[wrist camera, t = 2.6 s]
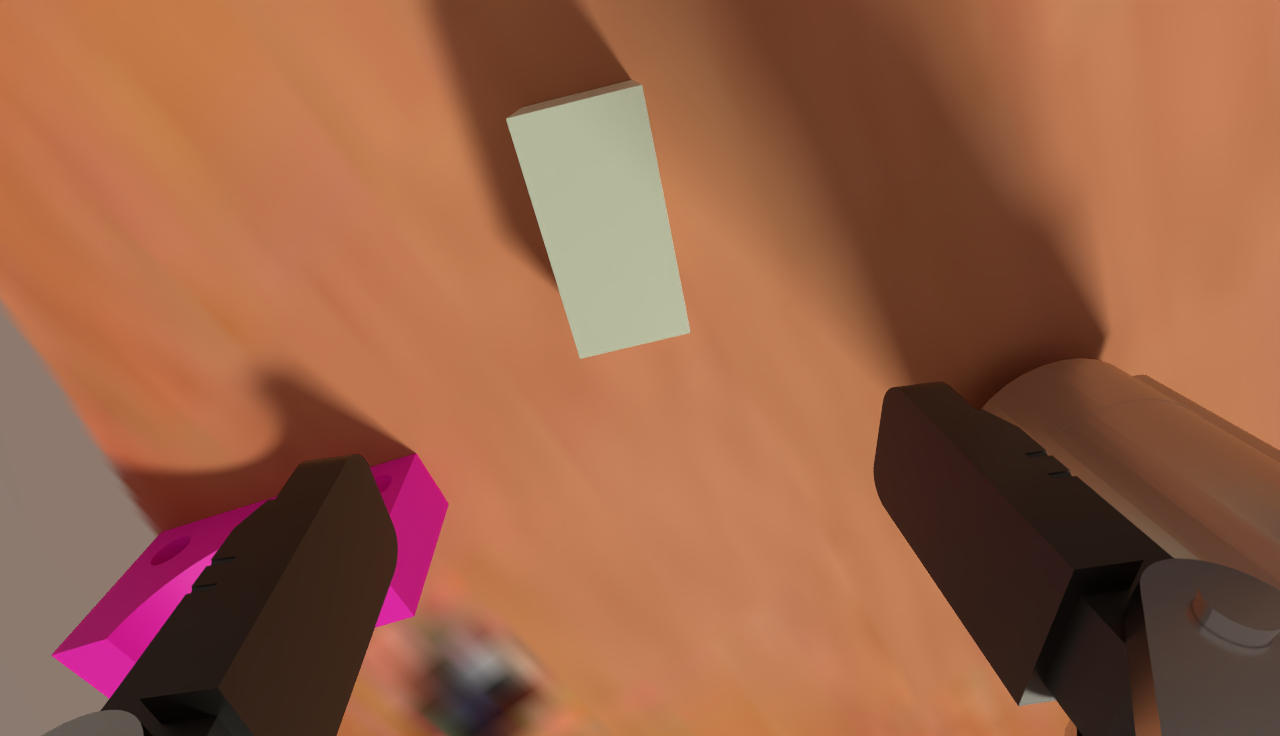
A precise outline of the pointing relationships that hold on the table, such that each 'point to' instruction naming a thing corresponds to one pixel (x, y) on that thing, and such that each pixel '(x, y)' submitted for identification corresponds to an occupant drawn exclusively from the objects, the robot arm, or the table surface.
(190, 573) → the toy block
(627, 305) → the green brick
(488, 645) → the table surface
